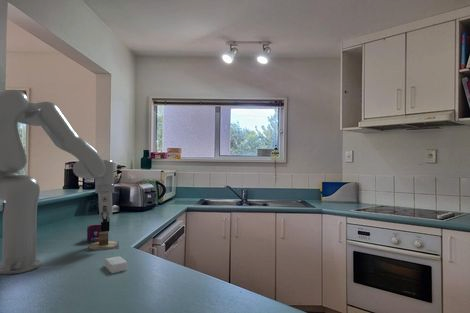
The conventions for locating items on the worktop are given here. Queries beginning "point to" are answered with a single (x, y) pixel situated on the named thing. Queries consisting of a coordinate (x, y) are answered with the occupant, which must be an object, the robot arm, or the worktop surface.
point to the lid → (103, 242)
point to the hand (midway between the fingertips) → (105, 228)
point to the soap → (116, 264)
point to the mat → (105, 249)
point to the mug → (93, 233)
